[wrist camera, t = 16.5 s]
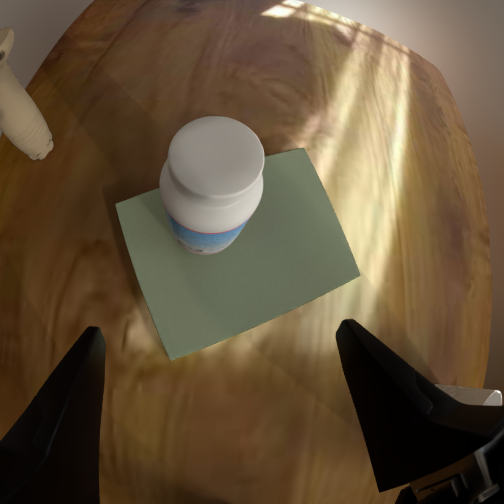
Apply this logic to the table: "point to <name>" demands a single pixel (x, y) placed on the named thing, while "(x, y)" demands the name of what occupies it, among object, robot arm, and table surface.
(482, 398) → the white cup
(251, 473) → the table surface
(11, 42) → the handle
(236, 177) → the pill bottle
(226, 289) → the mat
